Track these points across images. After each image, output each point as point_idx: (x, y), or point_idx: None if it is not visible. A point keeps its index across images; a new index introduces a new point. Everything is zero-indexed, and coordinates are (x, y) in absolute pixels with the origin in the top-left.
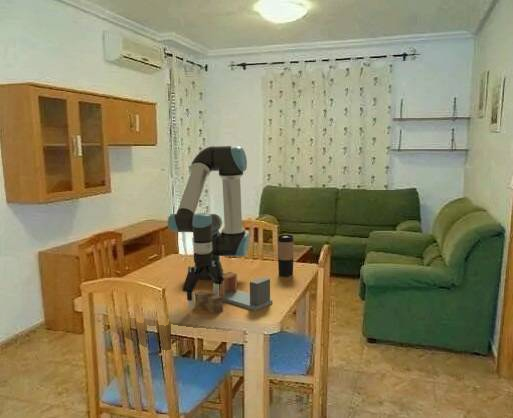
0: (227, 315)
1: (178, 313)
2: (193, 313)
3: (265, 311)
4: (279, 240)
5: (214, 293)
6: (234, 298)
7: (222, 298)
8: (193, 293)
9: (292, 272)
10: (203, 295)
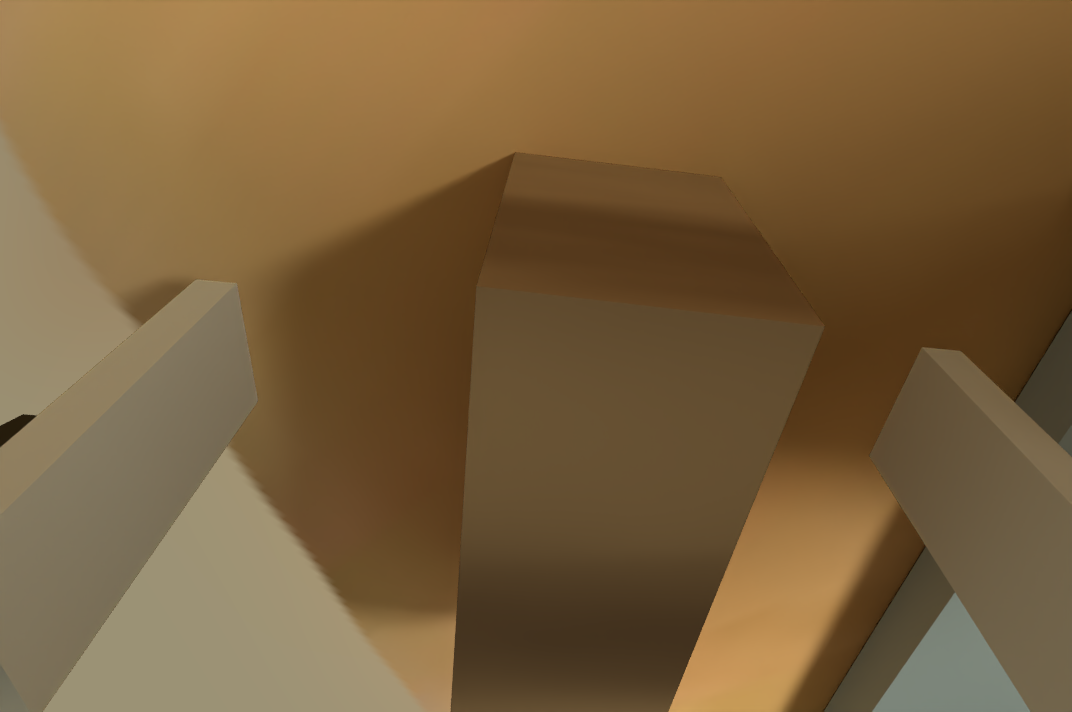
0: None
1: (47, 123)
2: (272, 344)
3: None
4: None
5: (976, 455)
6: None
7: (1059, 404)
8: (34, 687)
9: None
10: (476, 574)
